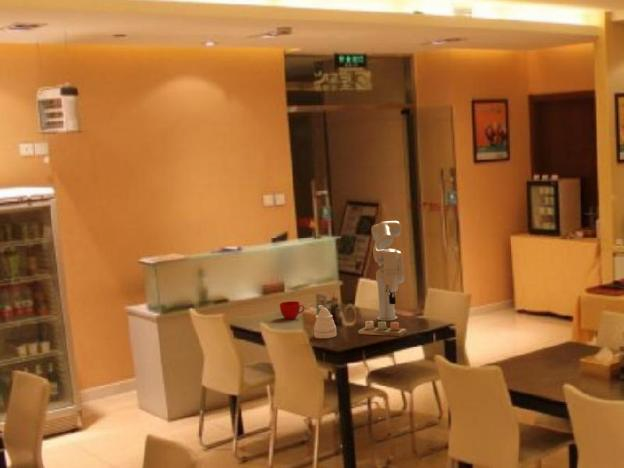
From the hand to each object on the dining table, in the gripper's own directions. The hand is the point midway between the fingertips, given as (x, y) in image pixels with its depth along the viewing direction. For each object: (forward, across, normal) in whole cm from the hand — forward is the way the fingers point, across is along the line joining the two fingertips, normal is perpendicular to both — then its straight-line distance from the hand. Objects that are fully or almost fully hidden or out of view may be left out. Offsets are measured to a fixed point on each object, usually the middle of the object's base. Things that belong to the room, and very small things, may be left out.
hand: (392, 303), depth 496 cm
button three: (+15, -1, 0) cm, 15 cm away
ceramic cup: (+16, -27, -84) cm, 90 cm away
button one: (+15, -1, -16) cm, 22 cm away
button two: (+15, -1, -8) cm, 17 cm away
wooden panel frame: (+17, -1, -8) cm, 19 cm away
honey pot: (+18, +14, -38) cm, 44 cm away
